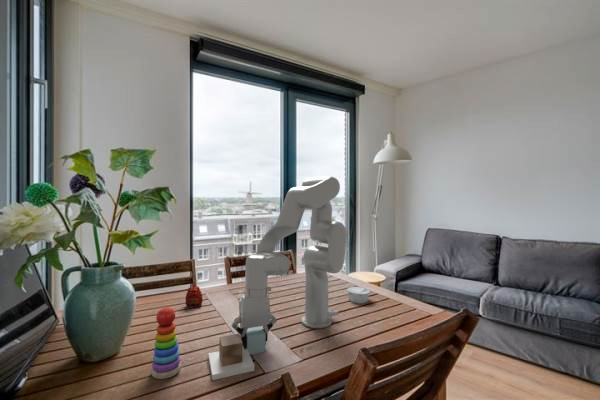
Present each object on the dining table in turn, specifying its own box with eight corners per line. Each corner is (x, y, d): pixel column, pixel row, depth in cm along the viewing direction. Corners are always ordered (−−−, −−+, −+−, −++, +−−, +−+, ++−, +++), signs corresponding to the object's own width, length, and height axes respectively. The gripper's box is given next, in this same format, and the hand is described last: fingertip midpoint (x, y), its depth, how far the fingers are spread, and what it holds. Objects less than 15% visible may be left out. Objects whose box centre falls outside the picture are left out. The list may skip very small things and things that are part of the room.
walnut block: (238, 352, 92) (238, 333, 92) (242, 362, 87) (242, 342, 86) (219, 356, 90) (219, 337, 90) (222, 366, 84) (222, 346, 84)
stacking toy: (185, 363, 88) (185, 303, 88) (174, 380, 80) (175, 313, 80) (159, 364, 88) (159, 303, 87) (146, 380, 80) (146, 314, 80)
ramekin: (371, 304, 139) (372, 294, 139) (348, 304, 139) (349, 293, 139) (366, 296, 150) (367, 286, 150) (345, 296, 150) (345, 286, 150)
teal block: (260, 343, 101) (261, 326, 101) (265, 351, 95) (265, 333, 95) (243, 346, 99) (244, 328, 99) (247, 355, 93) (247, 336, 93)
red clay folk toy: (184, 309, 130) (185, 276, 130) (185, 304, 137) (186, 272, 137) (202, 307, 132) (202, 275, 132) (202, 302, 139) (203, 271, 139)
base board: (245, 350, 96) (245, 346, 96) (254, 370, 85) (254, 365, 85) (208, 357, 91) (208, 353, 91) (212, 380, 80) (212, 374, 80)
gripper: (276, 286, 104) (275, 336, 104) (228, 290, 97) (226, 343, 97) (283, 292, 97) (281, 346, 97) (232, 297, 90) (230, 354, 90)
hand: (254, 344), depth 97 cm, fingers open, 6 cm apart
